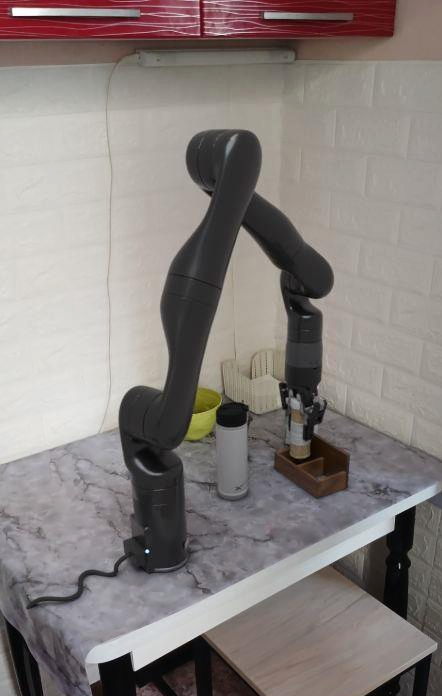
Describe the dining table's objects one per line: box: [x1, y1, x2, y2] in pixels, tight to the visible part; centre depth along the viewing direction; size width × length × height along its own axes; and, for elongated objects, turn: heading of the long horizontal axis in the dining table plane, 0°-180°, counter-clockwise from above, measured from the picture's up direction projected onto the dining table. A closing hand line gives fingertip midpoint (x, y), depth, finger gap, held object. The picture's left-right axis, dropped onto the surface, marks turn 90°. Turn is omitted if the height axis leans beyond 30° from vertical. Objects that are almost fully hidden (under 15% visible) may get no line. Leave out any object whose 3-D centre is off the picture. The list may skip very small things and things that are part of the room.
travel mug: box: [215, 401, 250, 501], centre depth 154 cm, size 6×7×20 cm
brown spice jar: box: [289, 397, 312, 459], centre depth 160 cm, size 5×5×13 cm
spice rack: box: [273, 433, 351, 500], centre depth 161 cm, size 8×15×8 cm, turn 32°
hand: (300, 435), depth 161 cm, fingers closed on brown spice jar, 4 cm apart
